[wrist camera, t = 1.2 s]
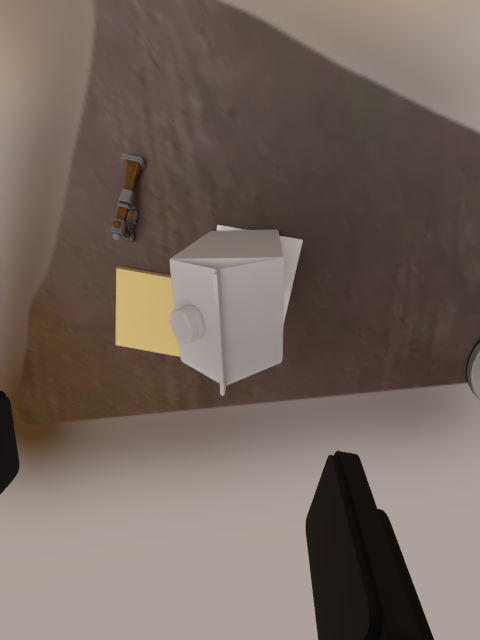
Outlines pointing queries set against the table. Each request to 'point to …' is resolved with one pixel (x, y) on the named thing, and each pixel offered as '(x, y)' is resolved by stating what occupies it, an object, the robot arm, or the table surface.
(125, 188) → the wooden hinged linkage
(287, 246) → the tile
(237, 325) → the milk carton
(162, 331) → the coaster
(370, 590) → the robot arm
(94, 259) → the table surface
